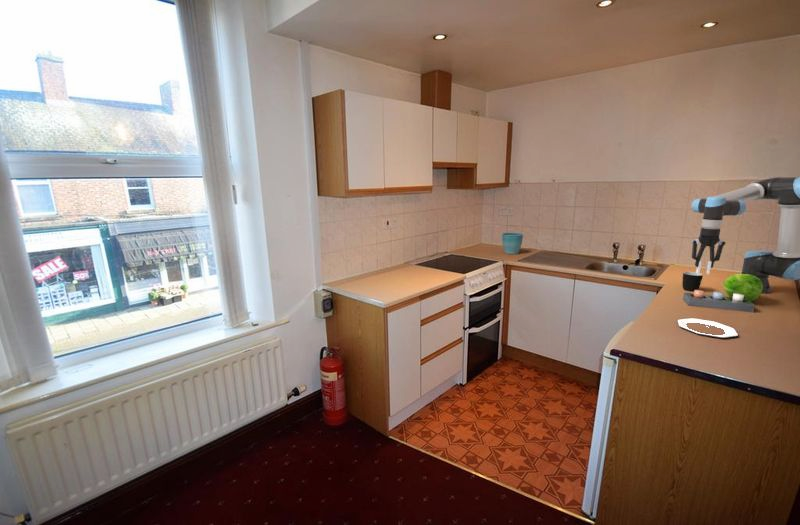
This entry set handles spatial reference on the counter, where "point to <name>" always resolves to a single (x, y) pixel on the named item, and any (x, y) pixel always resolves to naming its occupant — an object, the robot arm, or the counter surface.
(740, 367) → the counter surface
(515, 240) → the flower pot
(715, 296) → the key slate
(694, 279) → the mug
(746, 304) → the panel
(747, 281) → the lettuce
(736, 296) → the key ivory
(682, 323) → the plate
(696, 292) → the key rust
